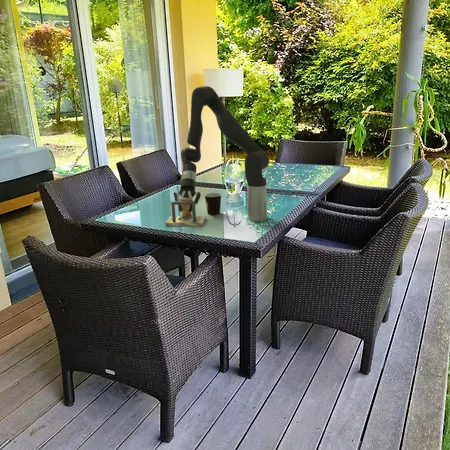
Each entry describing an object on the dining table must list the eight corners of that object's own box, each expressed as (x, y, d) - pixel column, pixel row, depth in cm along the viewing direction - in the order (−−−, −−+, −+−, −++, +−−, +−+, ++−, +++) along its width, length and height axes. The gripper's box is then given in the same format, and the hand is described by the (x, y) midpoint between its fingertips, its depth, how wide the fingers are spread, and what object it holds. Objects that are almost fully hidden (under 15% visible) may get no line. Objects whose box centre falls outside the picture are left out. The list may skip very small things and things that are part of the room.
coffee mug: (206, 211, 235) (205, 193, 232) (222, 210, 234) (221, 192, 231) (204, 217, 224) (203, 198, 220) (221, 217, 223) (220, 198, 220)
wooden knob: (193, 216, 222) (192, 196, 219) (191, 219, 217) (190, 199, 213) (182, 216, 222) (180, 197, 219) (180, 219, 217) (178, 200, 214)
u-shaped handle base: (205, 218, 222) (204, 196, 218) (202, 225, 211) (201, 201, 208) (170, 219, 224) (168, 196, 220) (165, 225, 213) (163, 202, 210)
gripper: (173, 177, 221) (169, 207, 214) (201, 177, 220) (198, 207, 212) (176, 185, 228) (172, 214, 220) (203, 185, 226) (201, 214, 219)
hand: (185, 211), depth 216 cm, fingers closed on wooden knob, 4 cm apart
